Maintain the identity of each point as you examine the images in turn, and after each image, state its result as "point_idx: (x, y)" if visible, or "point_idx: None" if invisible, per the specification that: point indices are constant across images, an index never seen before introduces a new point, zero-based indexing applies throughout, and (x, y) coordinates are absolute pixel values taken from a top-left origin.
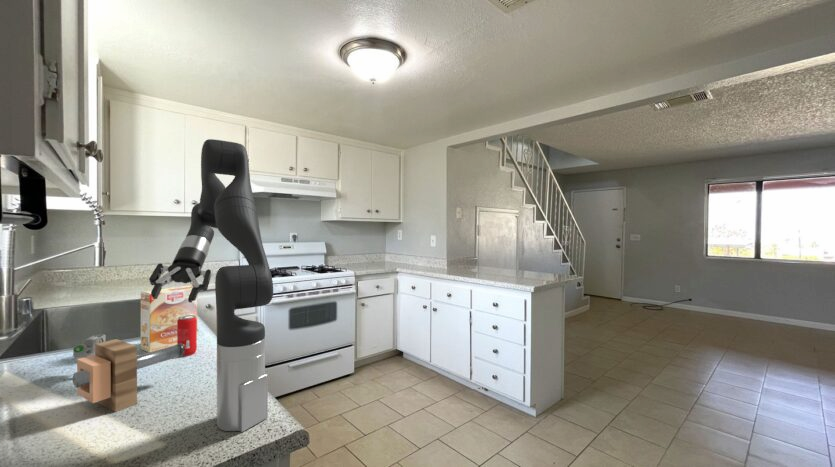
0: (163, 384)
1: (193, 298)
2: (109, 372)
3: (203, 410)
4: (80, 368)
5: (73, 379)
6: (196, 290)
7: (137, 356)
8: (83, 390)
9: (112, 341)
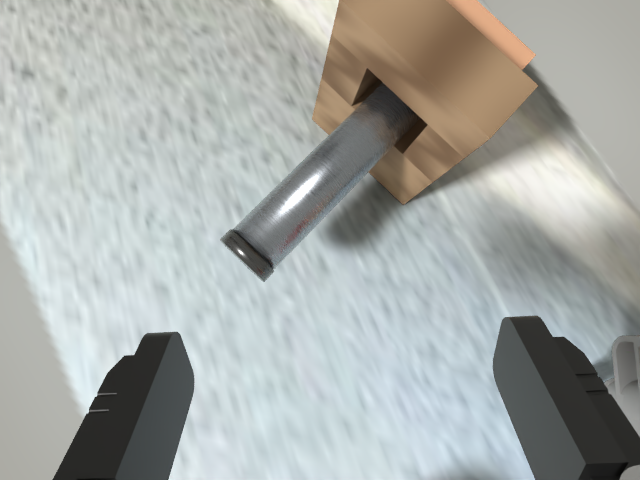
0: None
1: (129, 361)
2: None
3: (111, 26)
4: None
5: None
6: (75, 458)
7: (363, 127)
8: None
9: (484, 101)
